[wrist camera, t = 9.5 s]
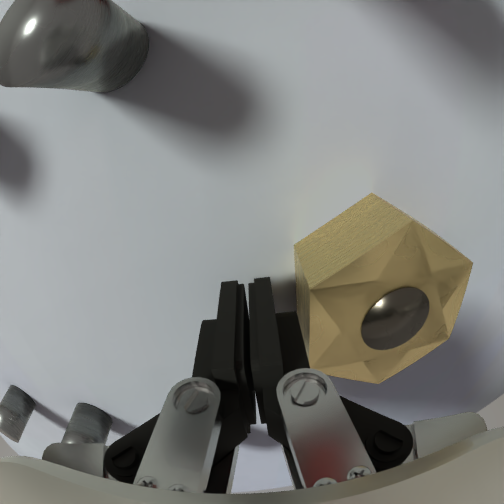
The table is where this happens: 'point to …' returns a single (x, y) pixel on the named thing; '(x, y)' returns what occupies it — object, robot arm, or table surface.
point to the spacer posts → (74, 78)
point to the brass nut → (376, 291)
